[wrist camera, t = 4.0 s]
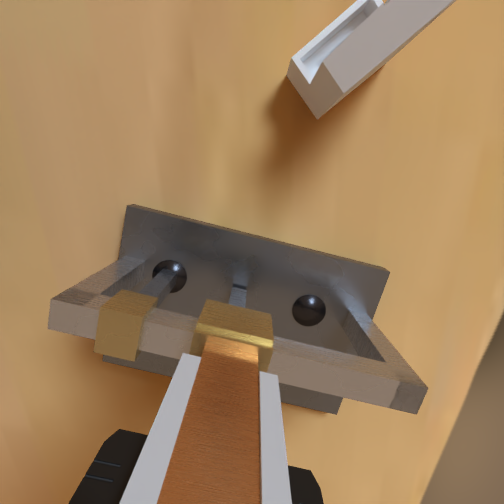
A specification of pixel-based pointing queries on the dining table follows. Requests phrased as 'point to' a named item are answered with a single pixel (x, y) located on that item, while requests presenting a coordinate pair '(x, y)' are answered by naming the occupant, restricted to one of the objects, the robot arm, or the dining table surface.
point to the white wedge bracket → (357, 48)
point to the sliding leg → (222, 408)
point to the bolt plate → (251, 285)
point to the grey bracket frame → (183, 326)
